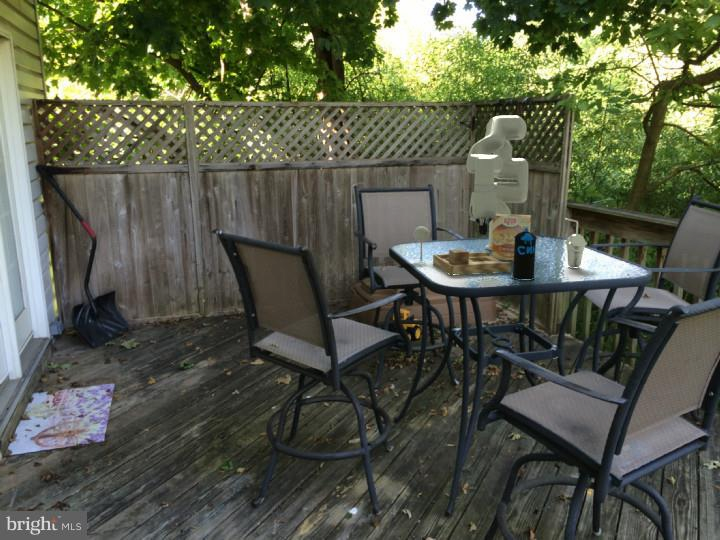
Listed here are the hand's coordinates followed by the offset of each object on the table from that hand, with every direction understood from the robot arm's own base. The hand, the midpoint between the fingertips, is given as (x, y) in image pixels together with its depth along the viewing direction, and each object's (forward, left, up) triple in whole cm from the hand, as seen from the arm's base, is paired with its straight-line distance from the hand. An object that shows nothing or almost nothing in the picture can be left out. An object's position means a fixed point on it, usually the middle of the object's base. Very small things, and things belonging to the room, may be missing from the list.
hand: (482, 234), depth 233 cm
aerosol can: (-10, +18, -15) cm, 25 cm away
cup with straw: (-38, +6, -15) cm, 41 cm away
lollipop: (+18, -23, -15) cm, 33 cm away
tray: (+3, -3, -14) cm, 15 cm away
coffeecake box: (-20, -15, -15) cm, 29 cm away
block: (+10, +1, -12) cm, 16 cm away
